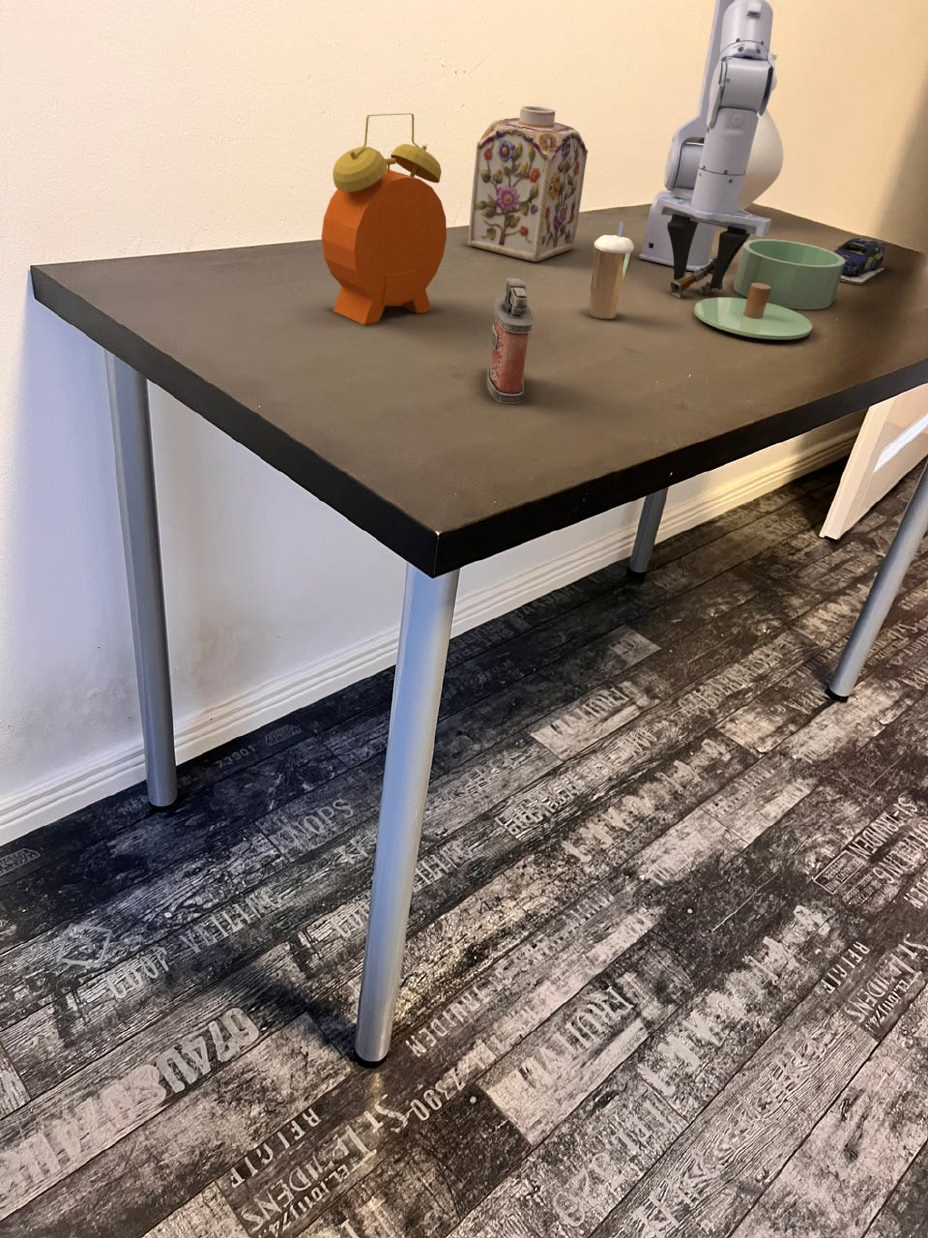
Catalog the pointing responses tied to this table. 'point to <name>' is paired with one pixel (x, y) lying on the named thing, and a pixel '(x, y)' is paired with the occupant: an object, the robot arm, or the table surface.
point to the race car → (860, 259)
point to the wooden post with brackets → (695, 280)
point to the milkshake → (609, 273)
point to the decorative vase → (762, 159)
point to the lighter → (509, 343)
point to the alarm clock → (383, 230)
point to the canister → (790, 272)
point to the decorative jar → (527, 186)
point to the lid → (753, 316)
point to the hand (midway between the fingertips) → (696, 282)
